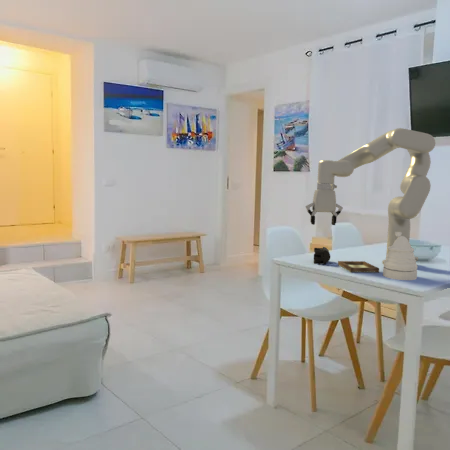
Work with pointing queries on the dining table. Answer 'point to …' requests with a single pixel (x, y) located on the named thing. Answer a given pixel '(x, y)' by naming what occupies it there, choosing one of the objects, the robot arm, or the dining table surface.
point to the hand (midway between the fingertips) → (323, 224)
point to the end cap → (321, 255)
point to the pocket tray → (358, 266)
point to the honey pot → (400, 260)
